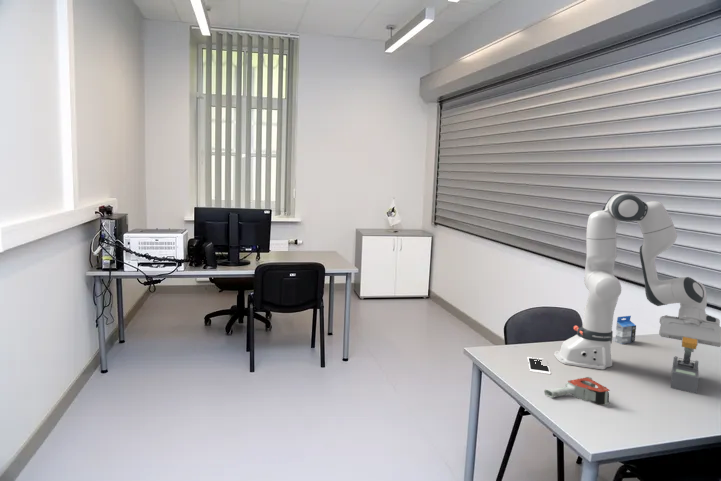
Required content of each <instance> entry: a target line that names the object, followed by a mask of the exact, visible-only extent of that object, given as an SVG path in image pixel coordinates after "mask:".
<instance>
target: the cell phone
mask: <svg viewBox="0 0 721 481" xmlns="http://www.w3.org/2000/svg"><path fill="white" fill-rule="evenodd" d="M534 358H535V357H533V358H532V356H531V357H530V356H527V358H526V359H527V363H528V362H529V364H528V369H530V370H529V372H531V371H532V372H531V373H537V372H539V373H538V374H544V373H546V375H551V373H552V372H551V369H550V366H548V367H547V366H543V365H541V362H540V361H542V360H540V359H541V357H536V358H537V359H534ZM538 358H539V359H538ZM534 360H537V361H534ZM538 360H539V361H538ZM535 362H536V364H535Z"/></svg>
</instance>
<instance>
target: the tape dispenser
mask: <svg viewBox="0 0 721 481" xmlns="http://www.w3.org/2000/svg"><path fill="white" fill-rule="evenodd" d="M596 386H597V387H596ZM610 391H611V390H610V389H609V388H608V387H607V386H604V385H602V384H601V383H599V382H597V381H595V380H593V378H592V377H590V376H585V377H582V378H581V377H579V378H576V379H570V380H567V382H566V383H565V386H564V387H554V388H545V389H544V393H543V394H544V395H545V396H547V398H548V397H549V398H551V399H554V398H557V397H562V396H567V395H571V396H573V398H576V399H579V398H580V400H583V401H585V402H586V401H588V402H589V401H591V402H594V403H595V404H596V405H599V406H603V405H604V406H605V405H607V406H608V405H610Z"/></svg>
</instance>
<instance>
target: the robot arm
mask: <svg viewBox="0 0 721 481" xmlns="http://www.w3.org/2000/svg"><path fill="white" fill-rule="evenodd" d="M620 222H636V223H637V224H638V226H639V228H640V231H641V233H642V237H643V242H642V243H643V244H641V246H640V247H639V259H640V264H641V270H642V275H643V280H644V289H645V290H644V291H645V297H646V300H647V301H648V302H650V303H651V304H653V305H655V306H657V307H661V306H665V305H666V306H667V305H670V304H679V305H680V307H679V309H678V315H677V316H671V315H668V314H667V315H662V316H660V318H659V323H660V326H659V332H658V334H659V336H660V337H661V338H666V339H673V340H677V341H681V342H680V343H681V344H682V340H683V337H687V338H692V339H697V346H698V345H699V344H700V345H705V346H706V345H707V346H711V347H712V346H713V347H717V348H720V347H721V321H720V318H718V317H715V316H713V315H709V314H707V312H706V308H707V303H708V301H707V300H708V299H707V298H708V297H707V289H706V286H705V285H704V284H703V283H701V282H700V281H697V280H695V279H694V278H692V277H689V276H683V277H682V276H681V277H676V278H671V279H670V278H669V279H664V280H661V279H659V278H658V272H657V267H656V259H657V257H658V256H660V254H662V253H663V252H666V251H667V250H668V249H671V247H672V246H673V245H674V244H675V243H676V241H677V237H678V235H677V230H676V227H675V224H674V222H673V220H672V218H671V216H670V213H669V212H668V211H667V209H666V207H665V206H664V204H663V203H661V202H659V201H658V200H657V201H656V200H655V201H654V200H651V201H647V202H644V201H643V200H641V199H640V198H639V197H637V196H636V195H635V194H634V195H633V194H632V193H629V192H617V193H615V194H613V195H611V196H610V197H609V198H608V200H607V202H606V203H605V204H604V207H603V208H602V210H596V211H594V212H591V213H590V215H589V216H588V219H587V223H586V225H587V226H586V231H585V232H586V236H585V238H586V244H585V245H586V259H585V265H584V266H585V267H584V277H583V278H584V279H583V280H584V281H583V282H584V286H585V288H586V289H587V290H588V297H587V301H586V304H585V307H584V309H583V318H582V319H583V321H582V325H581V327H580V326H578V325H574V326H573V330H574V331H576V334H575V335H574V336H572V337H569V338H567V339H566V340H564V341H563V342H562V343H561V346H560V350H555V351H554V353H553V354H554V355H555V356H554V358H555V359H557V361H559V362H560V363H561V364H564V365H569V366H575V367H580V368H581V367H583V368H589V369H597V370H606V368H610V367H612V366H613V359H612V348H611V347H612V346H611V345H612V342H613V333H614V331H613V321H614V316H615V315H614V314H615V310H616V306H617V304H618V300H619V297H620V295H621V293H622V286H621V282H620V280H619V278H617V277H616V276H615V275H614V270H615V263H616V259H617V255H618V254H617V250H618V249H617V229H618V225H619V224H620ZM683 349H684V350H683V351H684V352H685V347H683ZM694 352H695V349H692V351H691V353H694Z"/></svg>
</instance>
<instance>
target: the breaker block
mask: <svg viewBox="0 0 721 481" xmlns="http://www.w3.org/2000/svg"><path fill="white" fill-rule="evenodd" d="M683 359H684V358H681V357H679V356H673V362H672V369H671V379H670V388H671V389H675V390H679V391H683V392H689V393H691V394H692V393H693V394H695V395H697V393H698V387H699V386H698V385H699V379H700V377H699V376H700V375H699V374H700V373H699V360H691V359H690V362H692V363H694V368H690V367H686V366H681V365H678V360H682V361H683Z"/></svg>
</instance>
